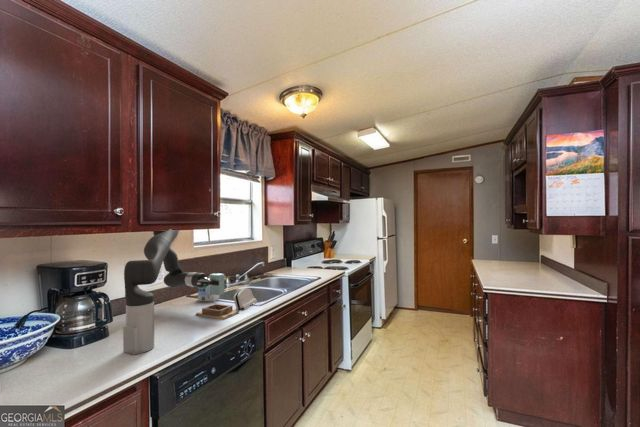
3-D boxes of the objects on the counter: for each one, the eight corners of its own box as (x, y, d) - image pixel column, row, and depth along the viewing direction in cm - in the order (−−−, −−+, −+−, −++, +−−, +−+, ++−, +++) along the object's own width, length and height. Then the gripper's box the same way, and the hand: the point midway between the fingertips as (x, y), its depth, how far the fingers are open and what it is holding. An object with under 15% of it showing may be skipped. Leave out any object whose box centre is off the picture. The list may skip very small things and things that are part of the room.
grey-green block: (219, 295, 154) (218, 275, 154) (209, 294, 157) (209, 274, 157) (224, 293, 158) (224, 273, 158) (215, 292, 161) (215, 273, 161)
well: (223, 319, 149) (223, 312, 149) (195, 315, 156) (195, 308, 156) (238, 312, 159) (238, 306, 159) (211, 309, 166) (211, 302, 166)
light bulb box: (197, 301, 183) (197, 282, 183) (203, 298, 190) (203, 280, 190) (214, 301, 182) (214, 283, 182) (219, 298, 188) (219, 280, 188)
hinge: (245, 310, 164) (239, 292, 164) (237, 312, 164) (231, 294, 165) (257, 301, 180) (251, 285, 181) (250, 303, 181) (244, 287, 182)
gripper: (185, 275, 157) (211, 277, 150) (206, 270, 170) (230, 272, 163) (185, 289, 157) (211, 293, 150) (206, 284, 170) (231, 286, 163)
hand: (221, 282), depth 156 cm, fingers closed on grey-green block, 4 cm apart
